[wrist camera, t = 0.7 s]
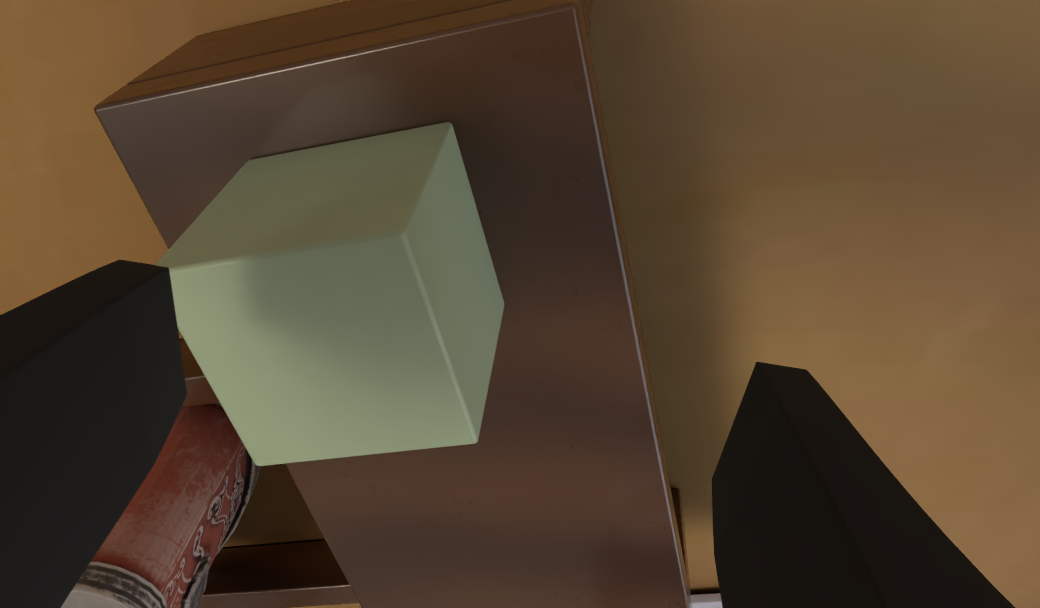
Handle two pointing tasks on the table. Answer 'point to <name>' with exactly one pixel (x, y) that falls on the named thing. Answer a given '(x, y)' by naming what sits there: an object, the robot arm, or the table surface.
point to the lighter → (174, 519)
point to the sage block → (343, 299)
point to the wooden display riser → (524, 287)
